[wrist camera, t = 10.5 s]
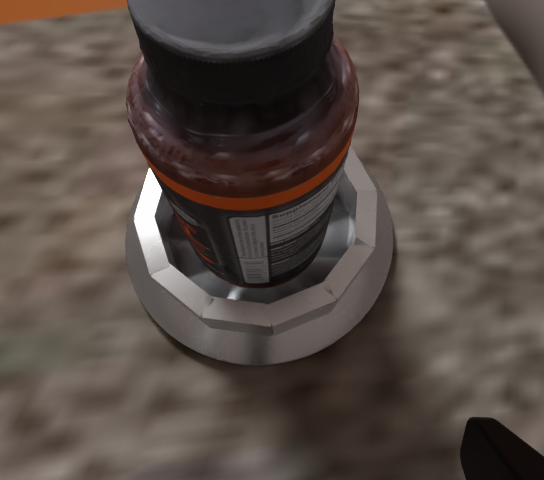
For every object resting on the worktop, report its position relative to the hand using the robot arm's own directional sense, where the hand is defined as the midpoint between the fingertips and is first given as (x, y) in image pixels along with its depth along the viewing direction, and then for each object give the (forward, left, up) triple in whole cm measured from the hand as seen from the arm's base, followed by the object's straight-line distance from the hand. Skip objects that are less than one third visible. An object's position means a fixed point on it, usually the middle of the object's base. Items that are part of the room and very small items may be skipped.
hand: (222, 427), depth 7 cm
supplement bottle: (+5, -6, -8) cm, 11 cm away
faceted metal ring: (+5, -6, -8) cm, 12 cm away
